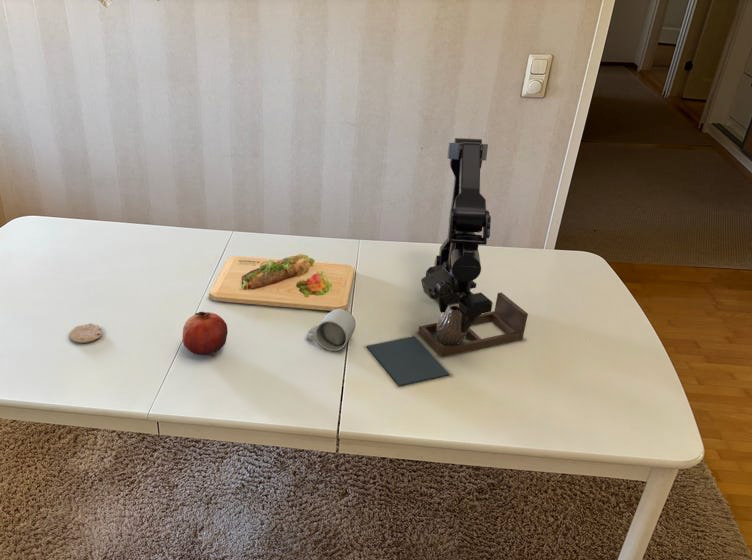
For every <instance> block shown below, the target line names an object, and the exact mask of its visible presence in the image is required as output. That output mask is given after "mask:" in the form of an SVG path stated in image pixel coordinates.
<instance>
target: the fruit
mask: <svg viewBox="0 0 752 560" xmlns="http://www.w3.org/2000/svg"><path fill="white" fill-rule="evenodd" d="M228 332H229V331H228V325H227V322H226V321H225V320H224V319H223V318H222V316H220V315H219V314H217V313H215V312H211V311H210V312H209V311H198V312H195V314H193V315H191V316H190V317H189V318H188V319H187V320H186V321H185V323H184V325H183V328H182V335H181V336H182V338H181V339H182V344H183V346H184V348H185V349H187V351H189V352H190V353H191V354H193V355H196V356H210V355H213V354H216V353H217V352H219V351H220V350H221V349H222V348H224V347H225V345H226V343H227V339H228Z"/></svg>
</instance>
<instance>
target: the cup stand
mask: <svg viewBox="0 0 752 560" xmlns="http://www.w3.org/2000/svg"><path fill="white" fill-rule="evenodd" d="M528 316H529V313H528V312H527V311H525V310H524V309H523V308H522V307H520V306H519V305H518V304H517V303H515V302H514V300H512V299H510V298H509V297H508V296H507V295H505V294H504V293H503V292H502V291H501V292H497V296H496V302H495V306H494V310H493V311H491V312H487V313H482V314H481V315H480V316H479V317H478V318H477V319H476V320H475V321H474V323H473V324H472V325H471V326H473V325H478V324H479V325H480V324H484V323H488V322H489V323H490V322H492V323H493V324H495V325H496V326H497V327H498V328H499V329H500V330H501V331H502V332H503V333H502V334H498V335H493V336H489V337H488V336H487V337H484V338H481V337H480V336H479V335H478V334H477V333H476V332H475V331H474V330H472V328H471V327H470V328H469V329H468V330H467V334H466V336H465V338H466V339H467V340H469V341H464V342H460V343H458V344H455V345H445V346H444V345H443V344H442V342H441V341H439V339H437V338H436V337H435V336H434V335H433V334H435V333H437V331H436V327H437V322H434V323H429V324H424V325H419V328H418V334H419V336H420V337H421V338H422V339H423V340H424V341H425V342H426V343H427V344H428V345H429V346H430V347H431V348H432V349H433V351H435V353H437V354H438V355H439V357H441V358H444V357H448V356H454V355H459V354H463V353H466V352H467V353H468V352H472V351H476V350H480V349H486V348H490V347H495V346H499V345H505V344H509V343H514V342H517V341H518V342H519V341H522V340H523V338H524V335H525V330H526V325H527V320H528Z"/></svg>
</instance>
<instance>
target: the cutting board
mask: <svg viewBox="0 0 752 560" xmlns="http://www.w3.org/2000/svg"><path fill="white" fill-rule="evenodd" d="M354 275H355V267H354V266H352V265H351V264H346V263H332V262H320V261H315V259H313V258H312V257H309V255H308V254H307V255H306V254H304V253H303V254H302V253H299V254H296V255H292V256H287V257H284V258H282V259H281V258H268V257H255V256H254V257H253V256H241V255H235V256H231V257H227V258H226V260H225V262H224V264H223V266H222V267H221V269H220V272H219V274H218V276H217V277H216V279H215V281H214V283H213V285H212V287H211V289H210V290H209V292H208V298H210V299H211V300H214V301H216V302H225V303H237V304H247V305H248V304H249V305H258V306H259V305H260V306H271V307H282V308H283V307H284V308H285V307H286V308H294V309H306V310H307V309H308V310H317V311H318V310H319V311H329V312H331V311H333V310H335V309H345V310H347V309H348V303H349V300H350V294H351V290H352V285H353V280H354Z"/></svg>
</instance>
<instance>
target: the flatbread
mask: <svg viewBox="0 0 752 560" xmlns="http://www.w3.org/2000/svg"><path fill="white" fill-rule="evenodd" d="M102 334H103V330H102V327H100V326H99V325H97V324H94V323H90V322H89V323H85V324H81V325H77V326H75V327H74V328H73V329H71V330H70V332H69V339H70V340H71V341H73V342H74V343H90V342H93V341H96V340H98V339H100V338H101V336H102Z"/></svg>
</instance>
